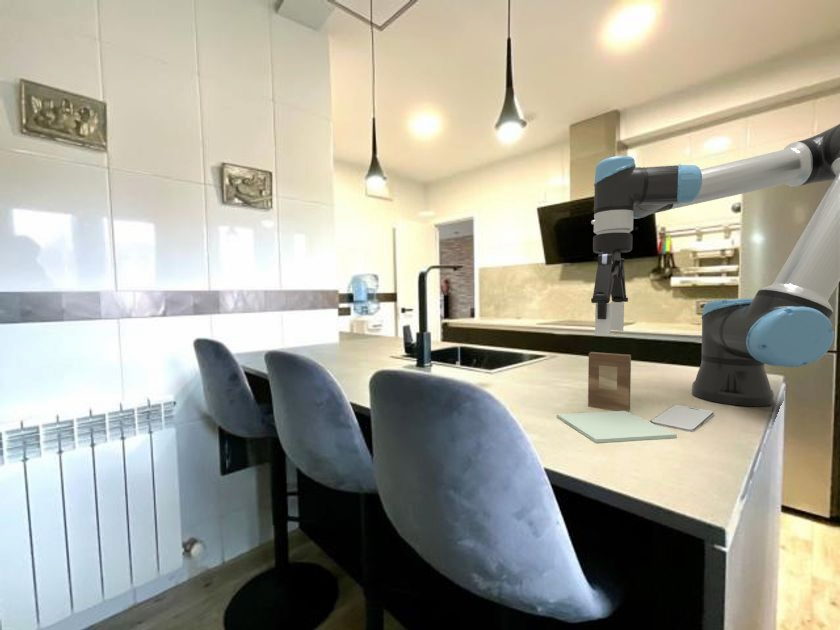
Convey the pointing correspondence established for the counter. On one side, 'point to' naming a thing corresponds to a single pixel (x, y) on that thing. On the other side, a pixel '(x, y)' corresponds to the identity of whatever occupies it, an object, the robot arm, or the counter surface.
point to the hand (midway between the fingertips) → (609, 333)
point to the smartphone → (683, 418)
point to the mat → (614, 426)
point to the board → (609, 381)
